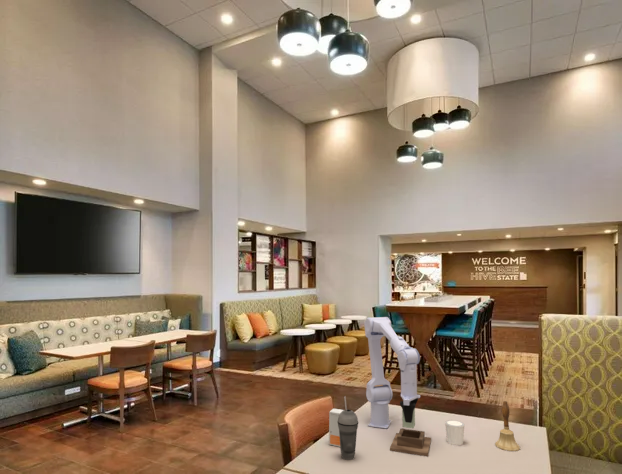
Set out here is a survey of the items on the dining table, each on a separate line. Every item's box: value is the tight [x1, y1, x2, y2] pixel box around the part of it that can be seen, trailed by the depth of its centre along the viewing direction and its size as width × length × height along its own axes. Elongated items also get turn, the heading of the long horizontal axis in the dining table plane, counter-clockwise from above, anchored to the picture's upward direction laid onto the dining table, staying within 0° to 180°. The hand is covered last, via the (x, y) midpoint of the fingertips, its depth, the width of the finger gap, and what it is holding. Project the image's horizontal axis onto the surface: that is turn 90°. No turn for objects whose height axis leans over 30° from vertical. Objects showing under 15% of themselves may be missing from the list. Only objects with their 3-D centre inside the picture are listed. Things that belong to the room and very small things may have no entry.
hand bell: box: [494, 400, 521, 452], centre depth 153 cm, size 8×8×16 cm
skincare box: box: [328, 408, 345, 448], centre depth 154 cm, size 6×4×12 cm
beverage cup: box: [337, 395, 359, 461], centre depth 144 cm, size 7×7×20 cm
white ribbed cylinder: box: [444, 419, 465, 446], centre depth 156 cm, size 7×7×7 cm
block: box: [401, 407, 416, 429], centre depth 154 cm, size 4×4×6 cm
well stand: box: [389, 428, 432, 457], centre depth 153 cm, size 15×13×4 cm
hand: (409, 420), depth 154 cm, fingers closed on block, 4 cm apart
